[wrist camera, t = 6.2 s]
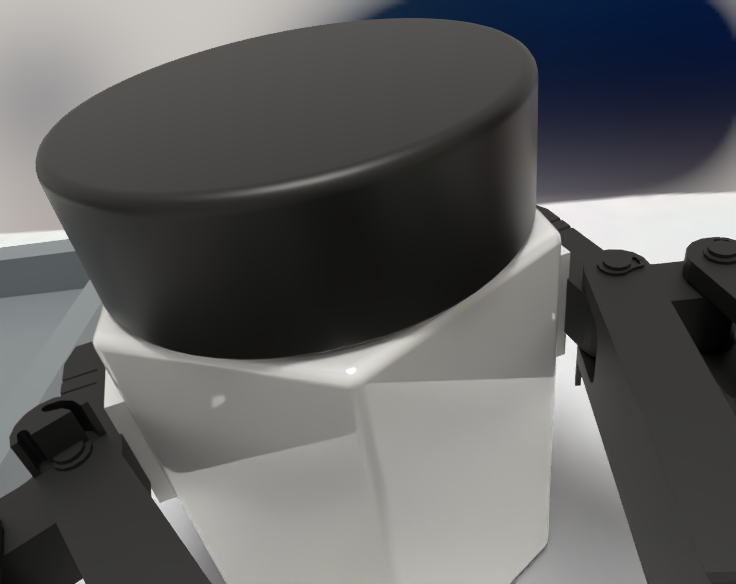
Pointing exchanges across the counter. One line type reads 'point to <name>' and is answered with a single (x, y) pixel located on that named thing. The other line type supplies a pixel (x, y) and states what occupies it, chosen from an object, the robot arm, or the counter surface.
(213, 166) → the jar
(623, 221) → the counter surface
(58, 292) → the tray
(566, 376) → the counter surface
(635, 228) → the counter surface
